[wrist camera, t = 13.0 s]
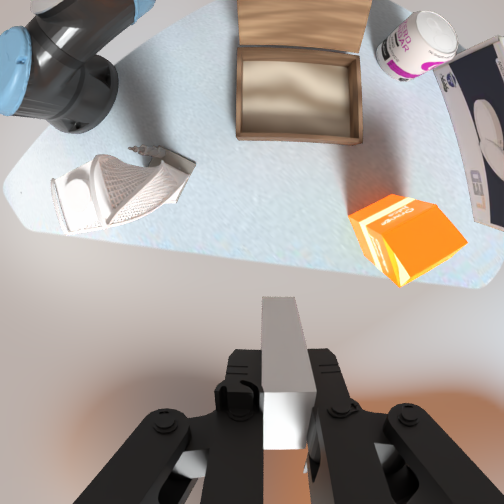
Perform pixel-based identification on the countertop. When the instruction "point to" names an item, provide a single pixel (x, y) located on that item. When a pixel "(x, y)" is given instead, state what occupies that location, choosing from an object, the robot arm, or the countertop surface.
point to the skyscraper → (118, 189)
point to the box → (298, 96)
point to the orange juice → (405, 237)
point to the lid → (304, 23)
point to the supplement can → (417, 46)
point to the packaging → (479, 123)
